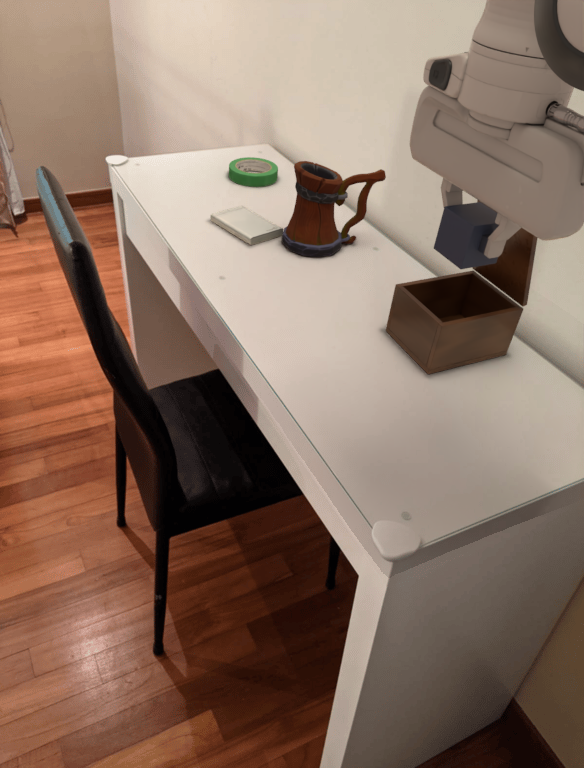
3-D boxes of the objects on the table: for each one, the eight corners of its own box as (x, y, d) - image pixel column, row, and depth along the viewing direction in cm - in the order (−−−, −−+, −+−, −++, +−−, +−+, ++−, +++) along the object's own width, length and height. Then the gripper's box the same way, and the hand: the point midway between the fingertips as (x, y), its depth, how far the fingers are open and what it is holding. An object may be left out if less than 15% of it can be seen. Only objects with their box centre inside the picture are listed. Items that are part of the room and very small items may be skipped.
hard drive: (283, 227, 117) (243, 204, 123) (250, 238, 112) (210, 213, 119) (283, 235, 118) (242, 212, 125) (250, 246, 113) (210, 221, 120)
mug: (364, 230, 123) (377, 155, 113) (381, 257, 114) (396, 179, 105) (276, 230, 119) (282, 153, 110) (287, 259, 111) (294, 177, 101)
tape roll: (249, 190, 133) (250, 178, 132) (218, 174, 139) (219, 162, 137) (287, 181, 139) (288, 169, 138) (256, 165, 145) (256, 154, 144)
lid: (537, 211, 76) (571, 196, 78) (478, 176, 84) (510, 164, 85) (522, 307, 87) (553, 293, 88) (472, 268, 95) (500, 256, 96)
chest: (428, 374, 87) (442, 326, 82) (385, 330, 95) (395, 284, 90) (506, 354, 93) (524, 308, 88) (459, 314, 101) (473, 270, 96)
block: (496, 263, 59) (510, 221, 57) (460, 269, 58) (473, 226, 55) (467, 242, 62) (480, 201, 59) (433, 248, 61) (444, 206, 58)
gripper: (645, 125, 44) (572, 289, 53) (468, 55, 58) (433, 195, 67) (583, 129, 42) (517, 301, 51) (414, 56, 56) (385, 201, 64)
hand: (469, 240), depth 59 cm, fingers closed on block, 4 cm apart
